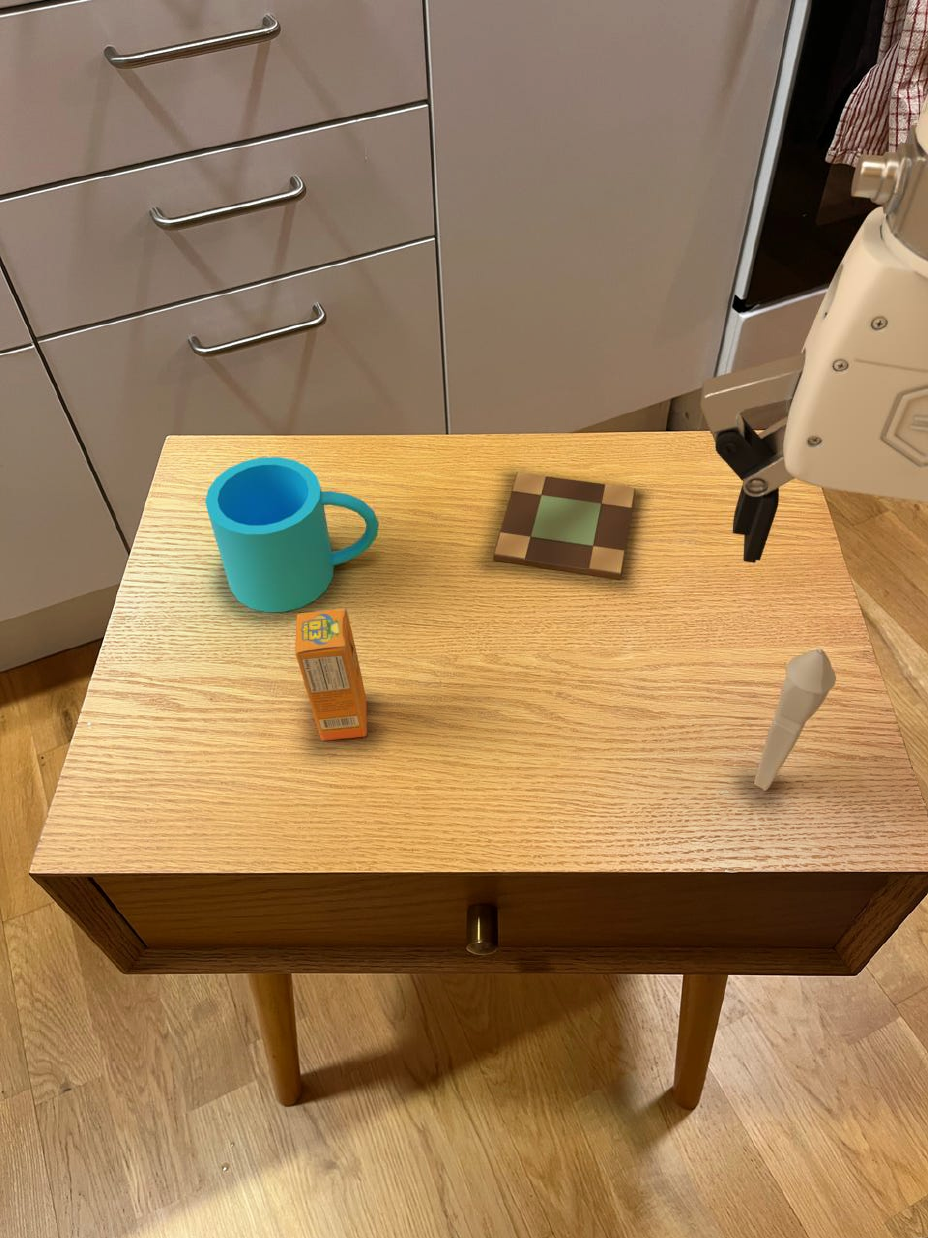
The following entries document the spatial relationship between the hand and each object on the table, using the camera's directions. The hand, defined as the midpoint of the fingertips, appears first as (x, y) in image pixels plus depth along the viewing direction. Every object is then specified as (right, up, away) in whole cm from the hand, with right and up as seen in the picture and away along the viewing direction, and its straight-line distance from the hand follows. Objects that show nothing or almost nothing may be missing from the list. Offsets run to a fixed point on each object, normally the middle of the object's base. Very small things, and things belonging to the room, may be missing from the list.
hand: (854, 557), depth 45 cm
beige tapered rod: (+1, -14, +17) cm, 22 cm away
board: (-10, +5, +32) cm, 34 cm away
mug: (-31, +1, +29) cm, 43 cm away
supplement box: (-27, -10, +20) cm, 35 cm away
